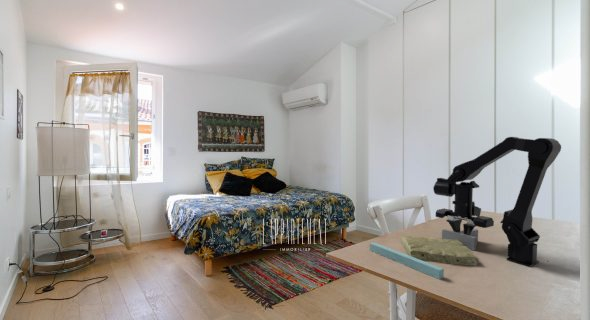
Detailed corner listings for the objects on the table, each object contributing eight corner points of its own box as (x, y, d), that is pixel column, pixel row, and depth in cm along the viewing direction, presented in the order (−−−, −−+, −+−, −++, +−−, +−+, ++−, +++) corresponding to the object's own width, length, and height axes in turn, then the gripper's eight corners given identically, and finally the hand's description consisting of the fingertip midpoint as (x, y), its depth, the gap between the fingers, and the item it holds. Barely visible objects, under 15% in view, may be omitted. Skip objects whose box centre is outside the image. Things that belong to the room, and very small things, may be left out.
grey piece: (491, 244, 109) (491, 232, 109) (473, 250, 103) (474, 238, 103) (459, 236, 119) (459, 225, 119) (441, 241, 113) (442, 229, 113)
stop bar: (443, 277, 82) (443, 268, 82) (439, 279, 81) (439, 270, 81) (373, 249, 104) (374, 242, 104) (369, 250, 103) (369, 243, 103)
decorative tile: (400, 243, 112) (400, 234, 112) (458, 247, 108) (458, 237, 108) (409, 262, 94) (409, 251, 94) (478, 267, 90) (479, 256, 90)
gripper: (502, 200, 105) (501, 243, 106) (451, 193, 121) (451, 230, 122) (485, 203, 99) (484, 249, 100) (435, 195, 115) (434, 235, 116)
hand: (462, 240), depth 110 cm, fingers closed on grey piece, 2 cm apart
